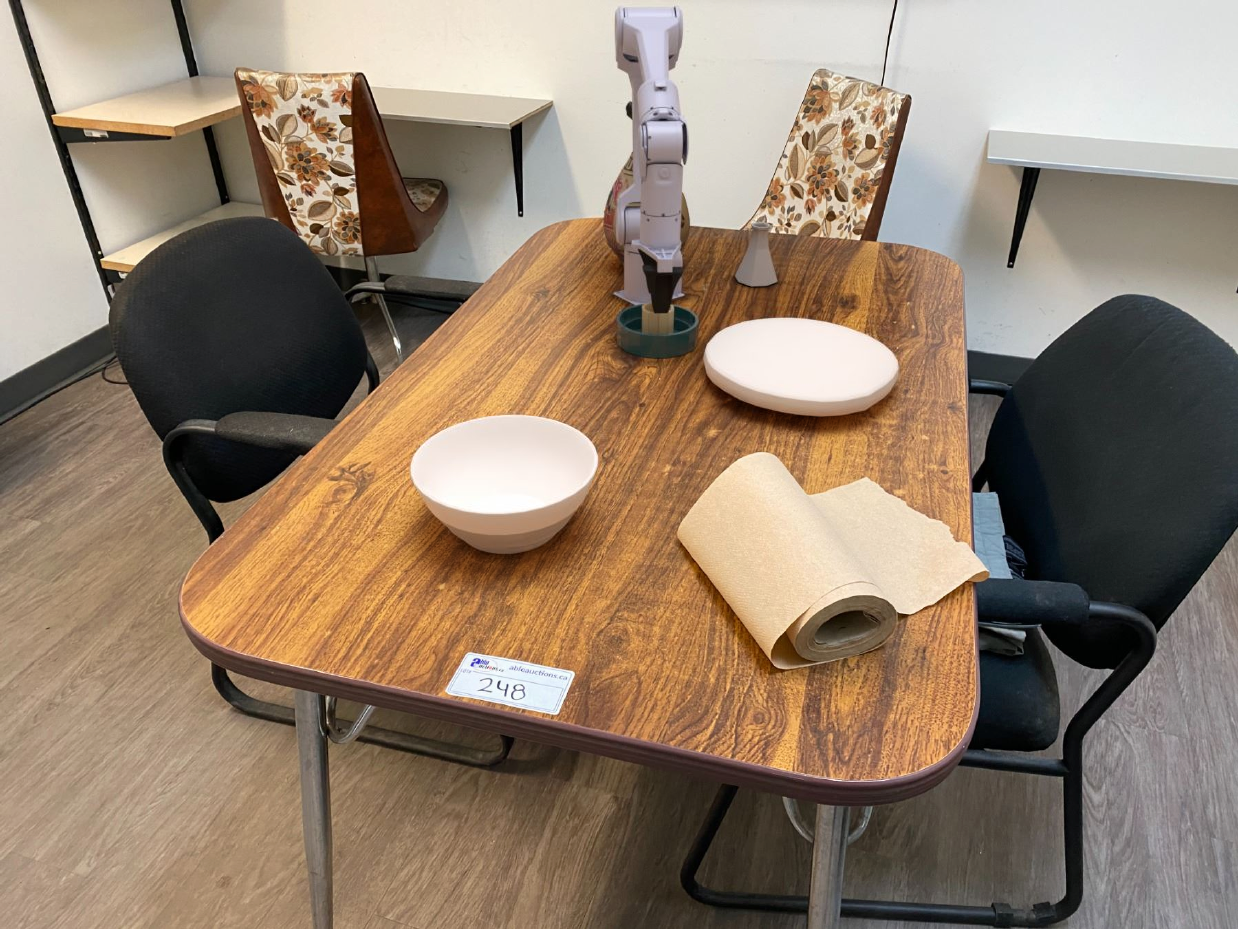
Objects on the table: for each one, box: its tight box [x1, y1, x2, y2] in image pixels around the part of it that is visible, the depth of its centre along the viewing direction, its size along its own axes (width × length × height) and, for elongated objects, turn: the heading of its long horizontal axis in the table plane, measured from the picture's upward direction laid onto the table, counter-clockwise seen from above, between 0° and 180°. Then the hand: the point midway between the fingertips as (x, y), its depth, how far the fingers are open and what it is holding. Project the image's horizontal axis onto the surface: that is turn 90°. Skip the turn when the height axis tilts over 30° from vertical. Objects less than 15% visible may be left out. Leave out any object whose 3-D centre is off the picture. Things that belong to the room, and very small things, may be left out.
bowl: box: [409, 414, 599, 555], centre depth 97 cm, size 19×20×8 cm
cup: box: [641, 302, 674, 334], centre depth 137 cm, size 5×5×5 cm
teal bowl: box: [616, 303, 700, 359], centre depth 137 cm, size 12×12×4 cm
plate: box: [702, 317, 900, 417], centre depth 127 cm, size 28×6×27 cm
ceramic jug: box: [602, 100, 691, 266], centre depth 158 cm, size 17×15×30 cm
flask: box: [734, 221, 778, 287], centre depth 159 cm, size 7×7×10 cm
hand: (658, 302), depth 135 cm, fingers open, 7 cm apart
